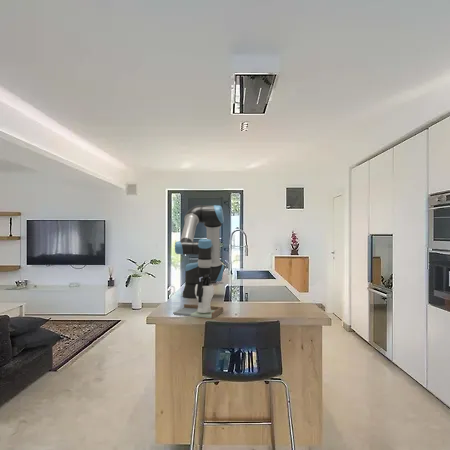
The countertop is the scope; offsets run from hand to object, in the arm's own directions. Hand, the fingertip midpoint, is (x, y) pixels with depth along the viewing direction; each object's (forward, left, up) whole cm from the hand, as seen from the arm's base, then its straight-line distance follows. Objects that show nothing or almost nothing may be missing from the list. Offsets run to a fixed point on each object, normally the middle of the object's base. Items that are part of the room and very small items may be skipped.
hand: (204, 306), depth 240 cm
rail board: (-2, -4, -5) cm, 7 cm away
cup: (0, 0, -3) cm, 3 cm away
